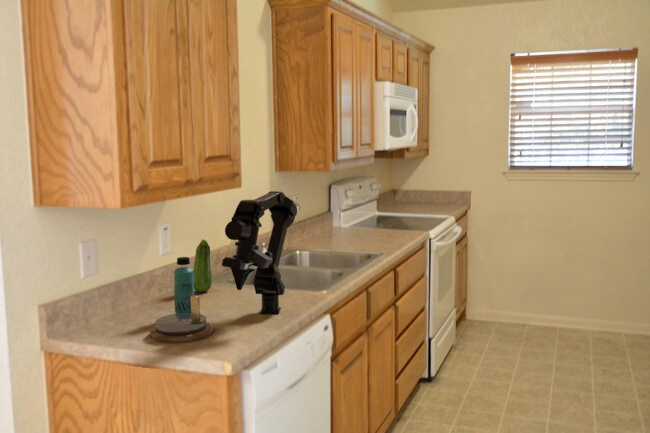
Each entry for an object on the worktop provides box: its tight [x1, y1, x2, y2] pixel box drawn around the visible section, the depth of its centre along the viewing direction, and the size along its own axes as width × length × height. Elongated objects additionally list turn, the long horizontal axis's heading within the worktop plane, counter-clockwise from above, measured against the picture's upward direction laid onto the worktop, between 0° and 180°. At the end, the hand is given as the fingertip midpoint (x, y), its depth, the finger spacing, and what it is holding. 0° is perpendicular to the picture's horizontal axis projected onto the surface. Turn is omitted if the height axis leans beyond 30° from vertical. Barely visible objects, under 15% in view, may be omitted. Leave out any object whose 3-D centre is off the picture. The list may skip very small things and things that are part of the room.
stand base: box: [150, 322, 213, 344], centre depth 203 cm, size 18×18×2 cm
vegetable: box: [193, 238, 213, 293], centre depth 253 cm, size 7×7×20 cm
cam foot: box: [154, 294, 208, 335], centre depth 202 cm, size 15×15×10 cm
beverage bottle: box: [173, 256, 196, 314], centre depth 218 cm, size 6×7×20 cm
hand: (239, 289), depth 209 cm, fingers closed
